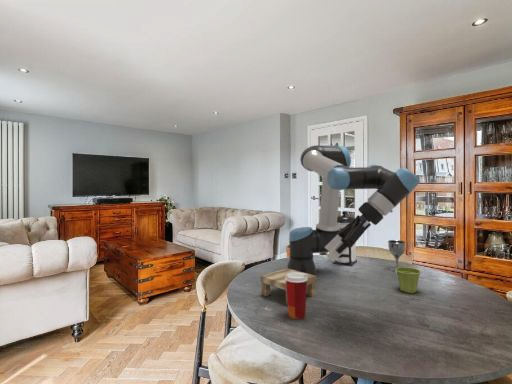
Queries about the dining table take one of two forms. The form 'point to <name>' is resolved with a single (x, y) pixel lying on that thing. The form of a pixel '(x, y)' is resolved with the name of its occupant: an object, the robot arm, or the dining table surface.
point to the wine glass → (396, 250)
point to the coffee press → (350, 252)
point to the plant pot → (408, 279)
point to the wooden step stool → (280, 282)
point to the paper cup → (296, 294)
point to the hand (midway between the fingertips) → (328, 254)
